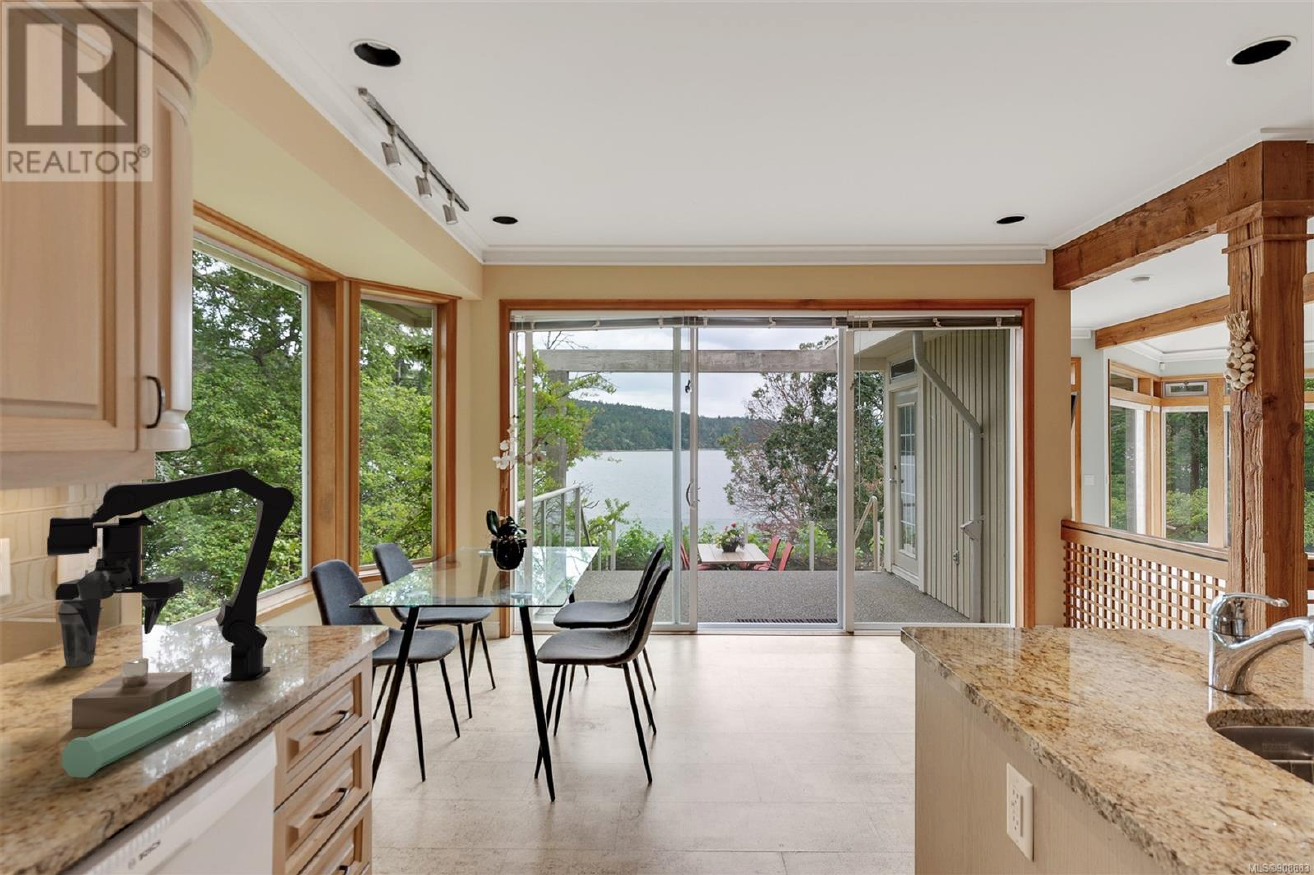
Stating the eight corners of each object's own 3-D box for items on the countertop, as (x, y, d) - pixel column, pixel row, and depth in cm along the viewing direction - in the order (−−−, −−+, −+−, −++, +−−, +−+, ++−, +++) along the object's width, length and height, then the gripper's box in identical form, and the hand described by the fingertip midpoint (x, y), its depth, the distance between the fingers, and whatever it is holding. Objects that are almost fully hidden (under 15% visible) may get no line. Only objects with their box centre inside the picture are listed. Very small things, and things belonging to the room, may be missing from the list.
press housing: (122, 700, 122) (122, 673, 122) (191, 698, 123) (191, 671, 123) (71, 728, 110) (72, 698, 110) (148, 726, 111) (149, 696, 111)
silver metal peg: (131, 705, 118) (131, 658, 118) (152, 705, 118) (153, 657, 118) (116, 713, 114) (117, 665, 114) (139, 713, 115) (139, 664, 115)
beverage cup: (47, 668, 138) (48, 573, 138) (83, 657, 145) (84, 567, 146) (75, 670, 137) (77, 575, 137) (110, 659, 144) (112, 568, 144)
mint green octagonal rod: (206, 674, 119) (70, 731, 94) (234, 688, 119) (103, 749, 94) (194, 703, 119) (54, 769, 95) (221, 718, 119) (88, 787, 94)
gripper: (31, 559, 113) (29, 649, 113) (150, 557, 116) (148, 646, 116) (78, 548, 124) (76, 631, 124) (185, 547, 127) (184, 628, 127)
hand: (120, 634), depth 122 cm, fingers open, 9 cm apart
